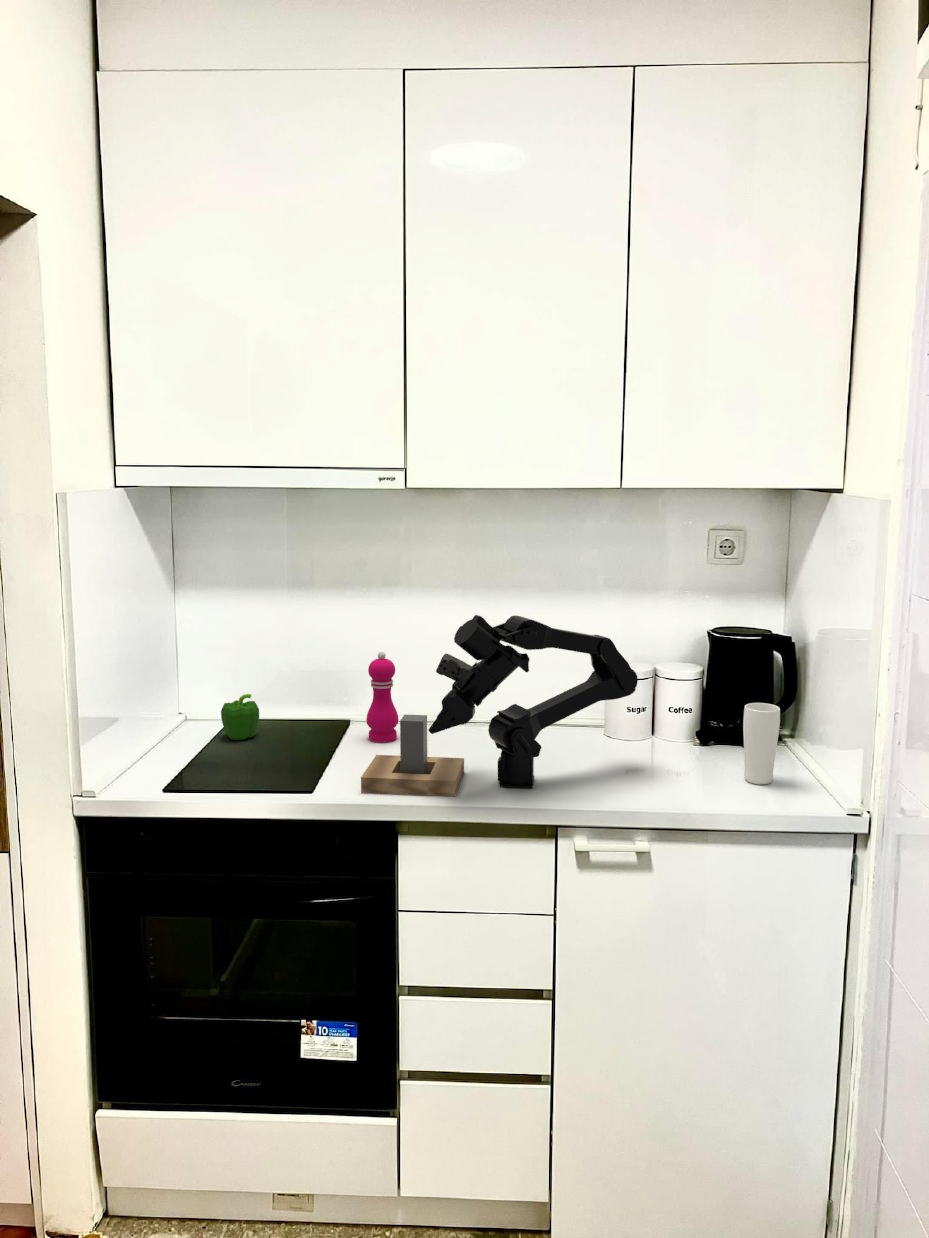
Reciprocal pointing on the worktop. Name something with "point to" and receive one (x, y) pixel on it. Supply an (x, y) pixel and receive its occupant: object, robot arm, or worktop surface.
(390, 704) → the pepper mill
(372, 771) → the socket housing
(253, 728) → the bell pepper
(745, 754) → the drinking glass
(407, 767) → the plug block
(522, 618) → the robot arm
